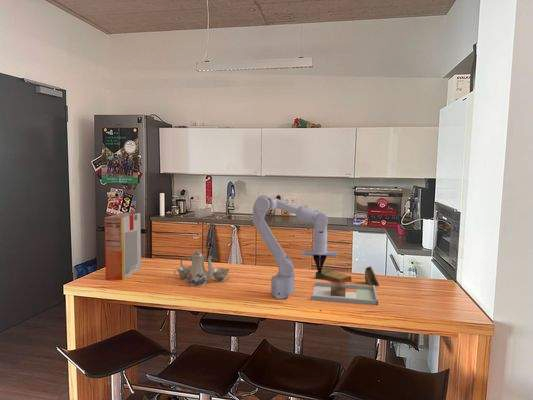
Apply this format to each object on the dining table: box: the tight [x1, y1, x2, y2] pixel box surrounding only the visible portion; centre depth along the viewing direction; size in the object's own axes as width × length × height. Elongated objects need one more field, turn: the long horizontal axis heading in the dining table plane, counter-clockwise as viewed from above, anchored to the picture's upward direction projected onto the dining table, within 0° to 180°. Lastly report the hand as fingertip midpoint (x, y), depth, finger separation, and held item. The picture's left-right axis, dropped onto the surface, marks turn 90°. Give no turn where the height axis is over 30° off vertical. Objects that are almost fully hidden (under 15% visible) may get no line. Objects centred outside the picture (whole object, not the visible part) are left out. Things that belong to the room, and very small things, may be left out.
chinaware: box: [173, 249, 230, 287], centre depth 180 cm, size 28×17×17 cm, turn 85°
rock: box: [364, 265, 380, 287], centre depth 177 cm, size 11×9×10 cm
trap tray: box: [310, 281, 379, 306], centre depth 159 cm, size 26×20×4 cm
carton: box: [315, 268, 352, 283], centre depth 183 cm, size 8×16×4 cm, turn 37°
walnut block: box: [330, 281, 347, 297], centre depth 160 cm, size 6×6×4 cm
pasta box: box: [104, 211, 142, 281], centre depth 192 cm, size 23×8×30 cm, turn 176°
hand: (319, 272), depth 161 cm, fingers closed
